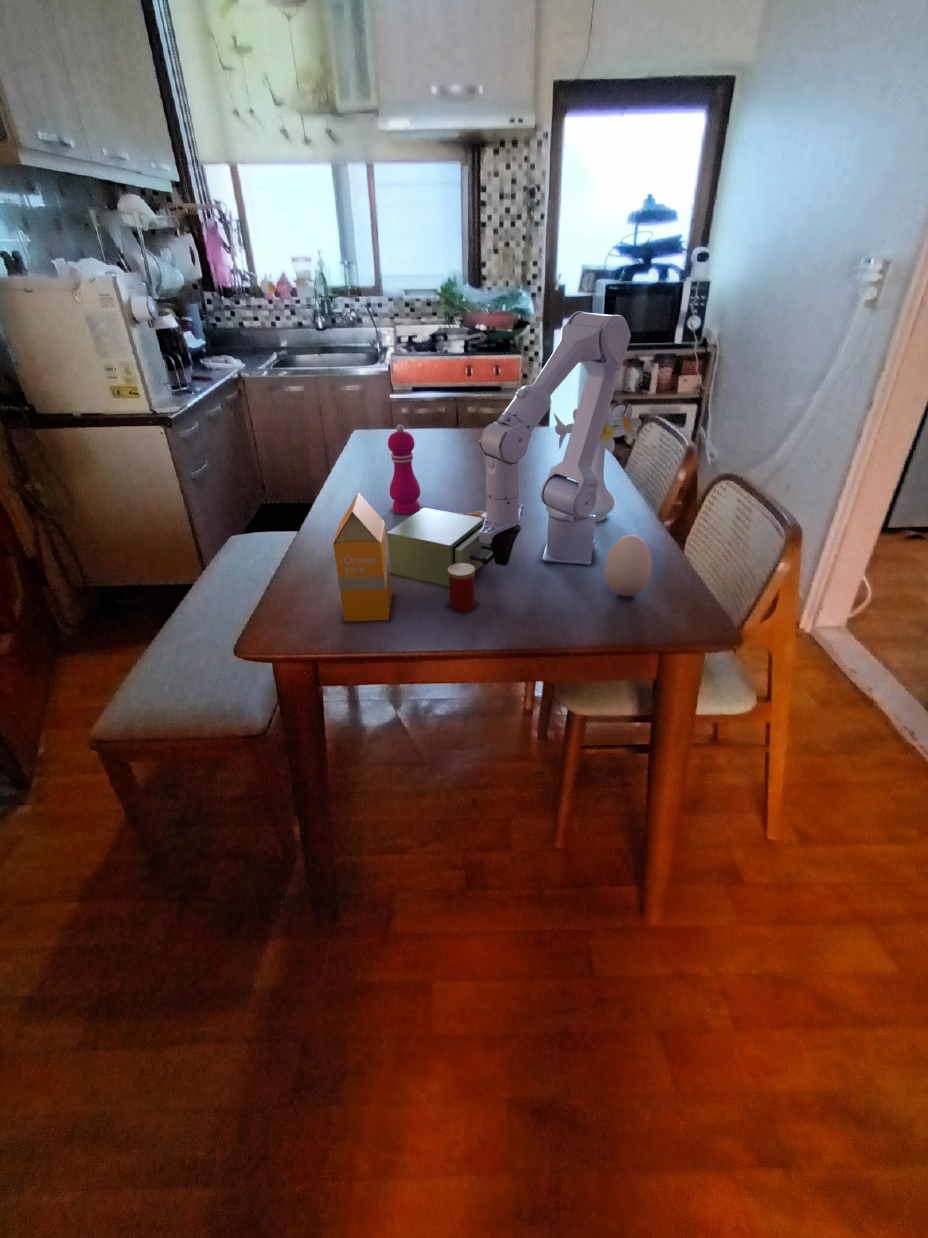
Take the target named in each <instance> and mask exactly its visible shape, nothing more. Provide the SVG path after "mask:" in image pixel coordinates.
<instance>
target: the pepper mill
mask: <svg viewBox="0 0 928 1238" xmlns="http://www.w3.org/2000/svg"><path fill="white" fill-rule="evenodd" d="M395 430H396V431H394V432H392V433H390V435H389V436H388V439H387V448H388V449H389V451H390V452H391V454H390V456H391V461H392V462H393V476H392V480H391V482H390V485H389V496H390V498H391V499H392V500H393V502H392V509H393V512H394V513H396V514H400V515H410V514H415V513H417V512H418V511H420V501H419V500H418V499H419V497H420V496H421V486H420V484H419V481H418V480H417V477H416V475H415V473H414V470H413V469H414V468H413V460H414V453H413V450H414V448H415V445H416V444H415V439H414V436H413V435H412V434H411V433H410V432H409V431H405V427H404V424H400V423H399V424H398V425H396V427H395Z"/></svg>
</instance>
